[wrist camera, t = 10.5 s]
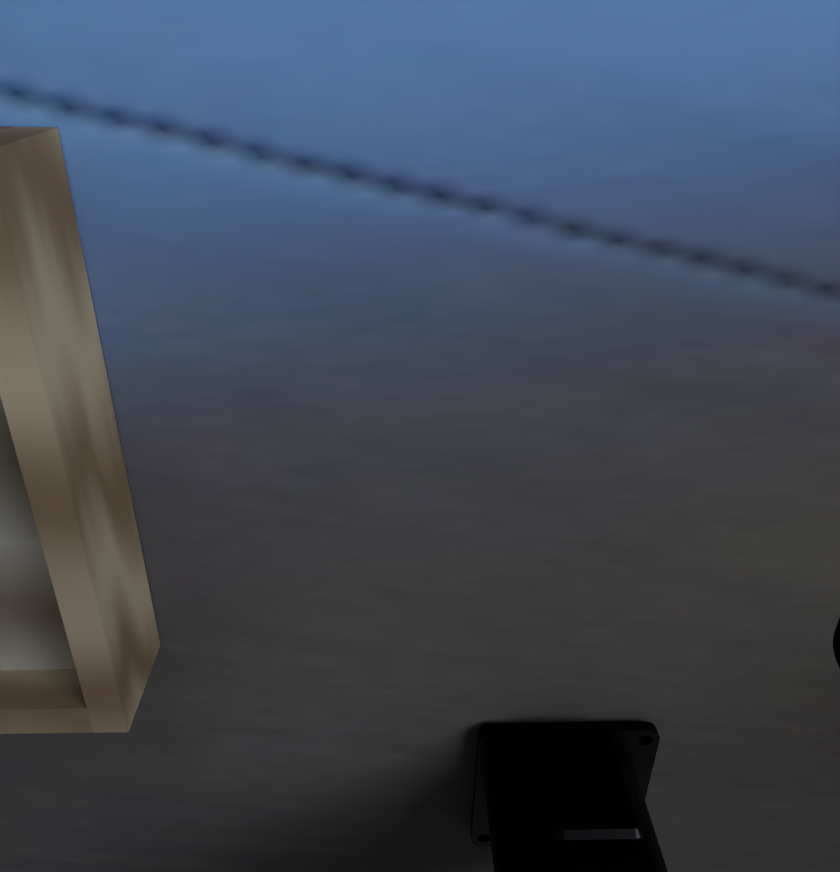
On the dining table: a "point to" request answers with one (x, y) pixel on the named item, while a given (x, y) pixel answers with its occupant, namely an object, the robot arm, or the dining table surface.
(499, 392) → the dining table surface
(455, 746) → the dining table surface
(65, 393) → the tray
